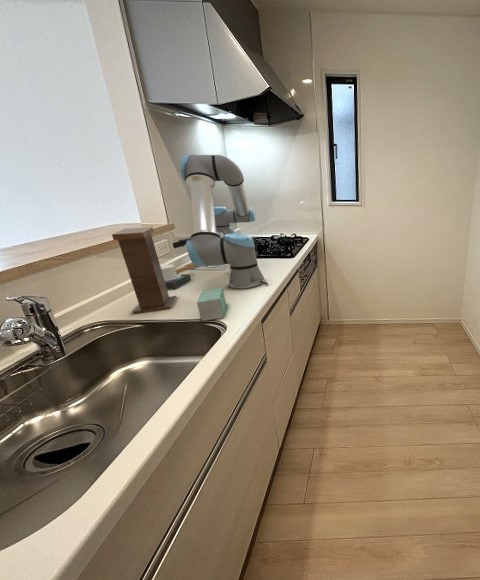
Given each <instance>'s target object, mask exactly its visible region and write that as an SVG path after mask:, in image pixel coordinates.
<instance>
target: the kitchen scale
mask: <svg viewBox="0 0 480 580" xmlns="http://www.w3.org/2000/svg"><path fill="white" fill-rule="evenodd" d="M164 280H165V284H166V287H167V290H176V289H178V288H180V287H182V286H183V285H186V284H187V283H188V282H190V281H192V279H191V274H190V273H183V274H181V273H179V274H177V276H176V277H173V278H170V279H164Z"/></svg>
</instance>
